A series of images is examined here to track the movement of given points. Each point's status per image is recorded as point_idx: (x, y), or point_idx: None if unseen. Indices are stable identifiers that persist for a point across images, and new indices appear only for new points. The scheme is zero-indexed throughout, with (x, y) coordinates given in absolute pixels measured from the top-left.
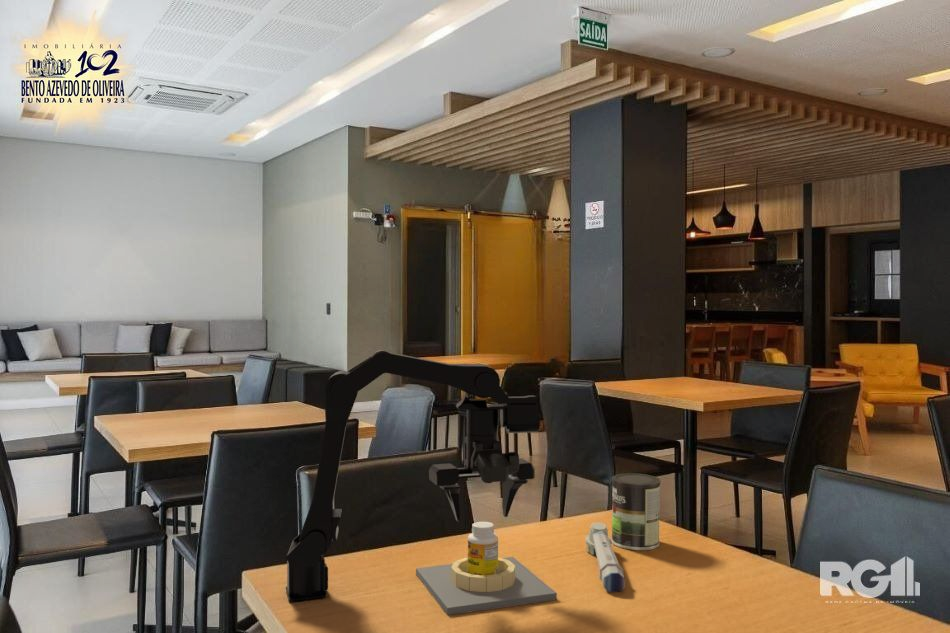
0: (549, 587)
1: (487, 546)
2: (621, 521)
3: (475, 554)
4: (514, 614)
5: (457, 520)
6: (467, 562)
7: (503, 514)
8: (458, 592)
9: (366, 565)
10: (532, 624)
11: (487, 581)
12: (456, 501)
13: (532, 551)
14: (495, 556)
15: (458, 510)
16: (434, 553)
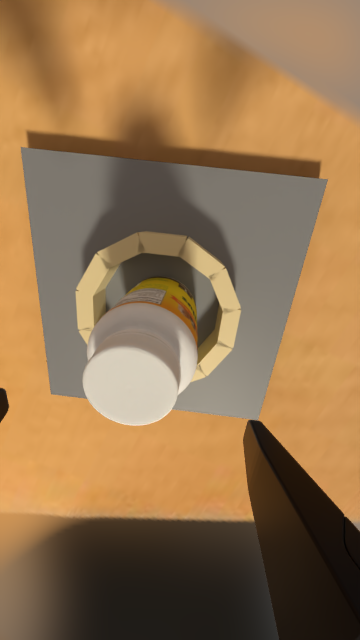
0: (27, 194)
1: (150, 301)
2: None
3: (188, 314)
4: (168, 107)
5: (262, 425)
6: None
7: (4, 411)
8: (248, 264)
9: None
10: (153, 4)
11: (183, 236)
12: (344, 547)
13: None
14: (126, 295)
15: (283, 469)
16: (176, 474)
